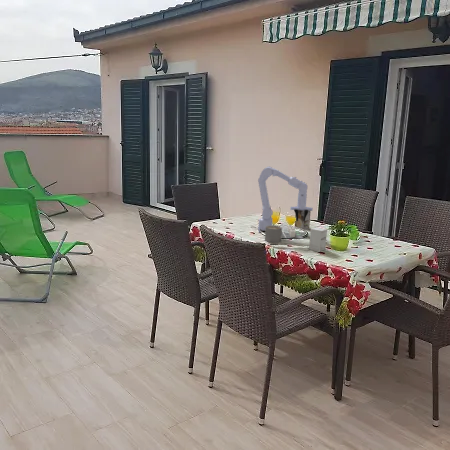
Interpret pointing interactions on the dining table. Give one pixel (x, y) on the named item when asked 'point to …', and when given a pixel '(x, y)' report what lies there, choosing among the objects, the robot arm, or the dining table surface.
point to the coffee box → (300, 222)
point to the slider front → (292, 233)
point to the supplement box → (317, 239)
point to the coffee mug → (273, 234)
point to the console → (297, 235)
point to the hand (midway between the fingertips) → (300, 220)
